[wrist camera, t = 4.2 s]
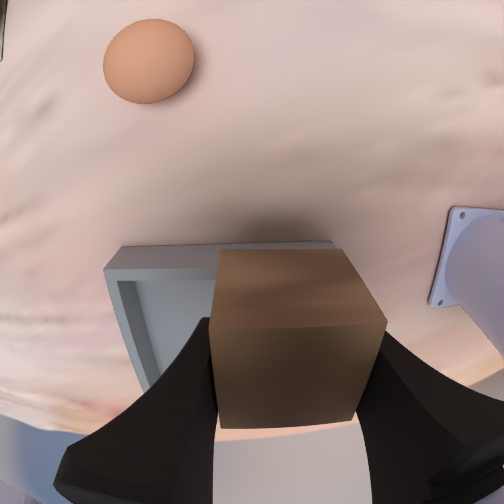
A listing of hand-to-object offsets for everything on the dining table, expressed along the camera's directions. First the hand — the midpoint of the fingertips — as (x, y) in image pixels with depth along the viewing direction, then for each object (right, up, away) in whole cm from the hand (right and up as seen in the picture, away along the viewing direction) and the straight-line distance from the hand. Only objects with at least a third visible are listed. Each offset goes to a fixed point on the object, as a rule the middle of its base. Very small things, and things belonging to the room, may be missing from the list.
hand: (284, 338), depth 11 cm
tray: (-3, -2, +10) cm, 11 cm away
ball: (-6, +13, +3) cm, 15 cm away
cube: (0, +1, +2) cm, 2 cm away
